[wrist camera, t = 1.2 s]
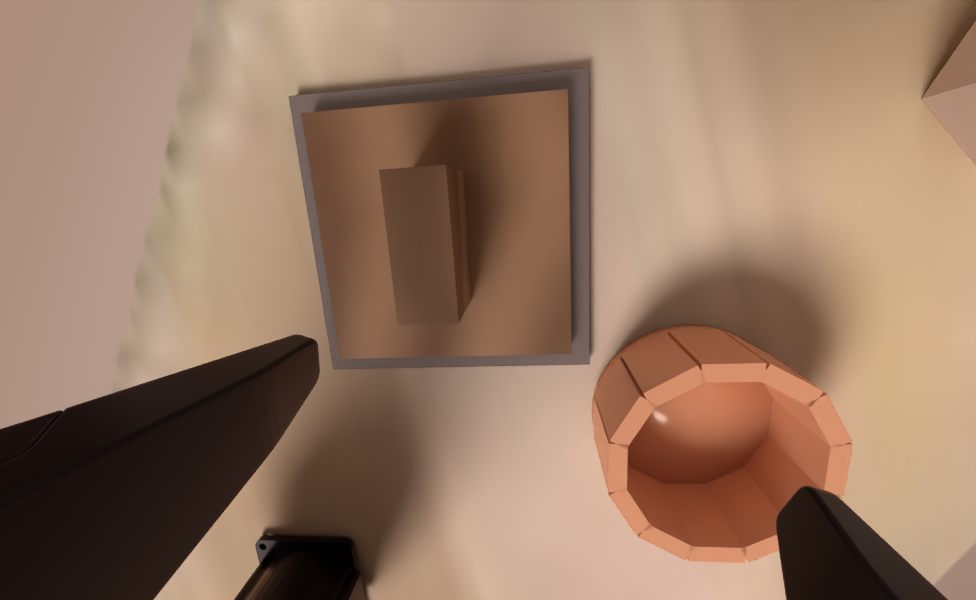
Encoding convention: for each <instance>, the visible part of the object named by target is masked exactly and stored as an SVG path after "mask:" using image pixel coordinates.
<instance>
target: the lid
mask: <svg viewBox="0 0 976 600" xmlns="http://www.w3.org/2000/svg"><path fill="white" fill-rule="evenodd" d="M301 117H302V123H303V129H304V136H305V142H306V148H307V155H308V161H309V167H310V173H311V180H312V186H313V192H314V199H315V205H316V211H317V218H318V224H319V230H320V236H321V243H322V249H323V255H324V262H325V268H326V274H327V280H328V287H329V293H330V299H331V306H332V312H333V318H334V325H335V331H336V337H337V343H338V350H339V356H340V359H359V358H406V357H452V356H498V355H544V354H572V342H571V270H570V199H569V128H568V89H561V90H550V91H539V92H528V93H517V94H506V95H495V96H484V97H473V98H462V99H451V100H440V101H429V102H418V103H407V104H396V105H385V106H374V107H363V108H352V109H341V110H329V111H318V112H307V113H301Z"/></svg>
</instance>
